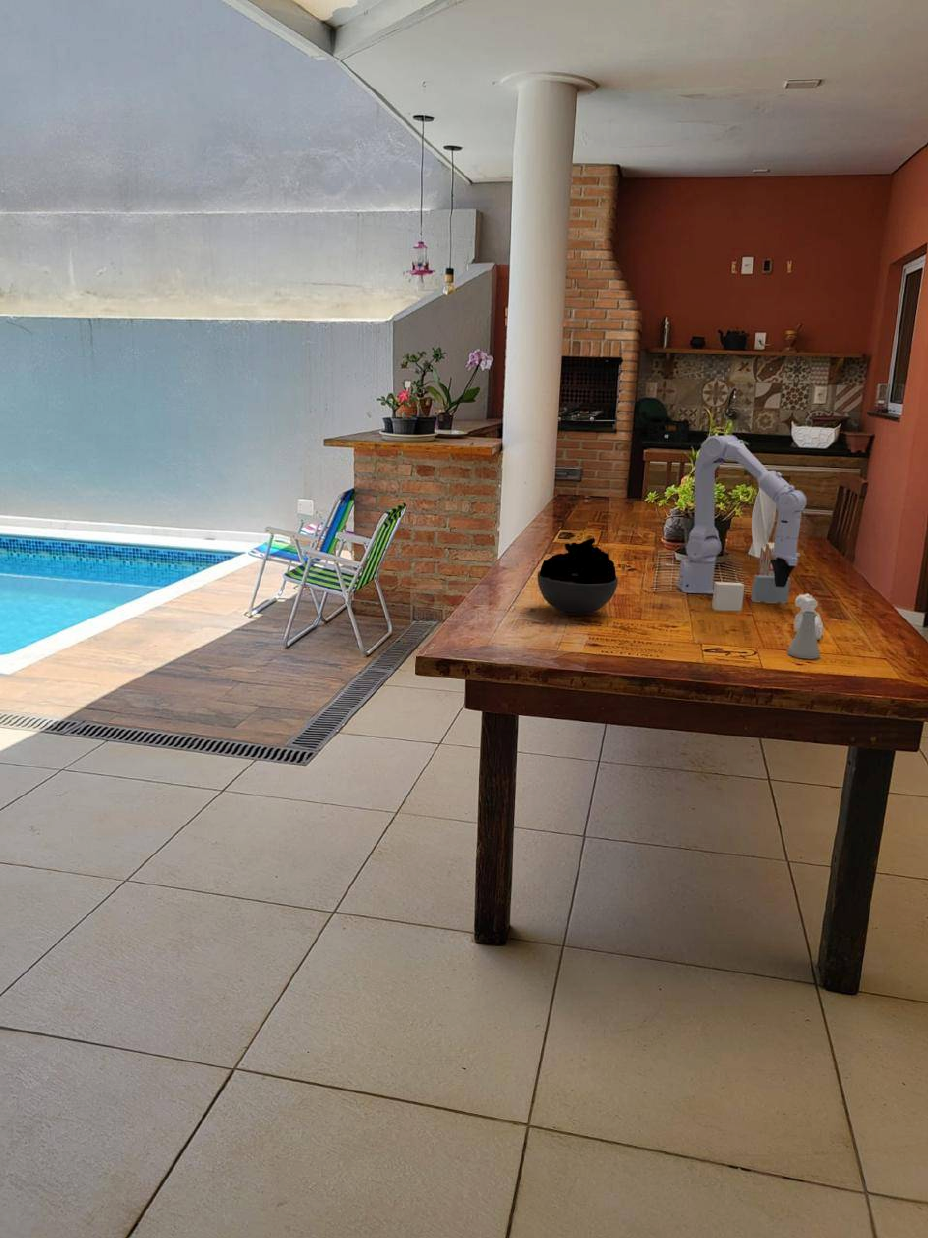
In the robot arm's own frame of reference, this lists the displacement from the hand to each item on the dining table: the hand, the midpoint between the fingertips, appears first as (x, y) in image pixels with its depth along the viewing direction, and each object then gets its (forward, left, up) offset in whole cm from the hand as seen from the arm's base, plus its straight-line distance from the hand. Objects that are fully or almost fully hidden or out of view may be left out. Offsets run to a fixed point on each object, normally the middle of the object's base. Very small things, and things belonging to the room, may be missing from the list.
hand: (780, 586), depth 251 cm
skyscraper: (+19, +75, -6) cm, 77 cm away
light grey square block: (-15, -4, -6) cm, 17 cm away
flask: (-9, -44, -6) cm, 46 cm away
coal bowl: (-57, -16, -6) cm, 60 cm away
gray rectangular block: (0, +7, -6) cm, 9 cm away
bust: (-2, -27, -6) cm, 28 cm away
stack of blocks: (+9, +31, -6) cm, 33 cm away
